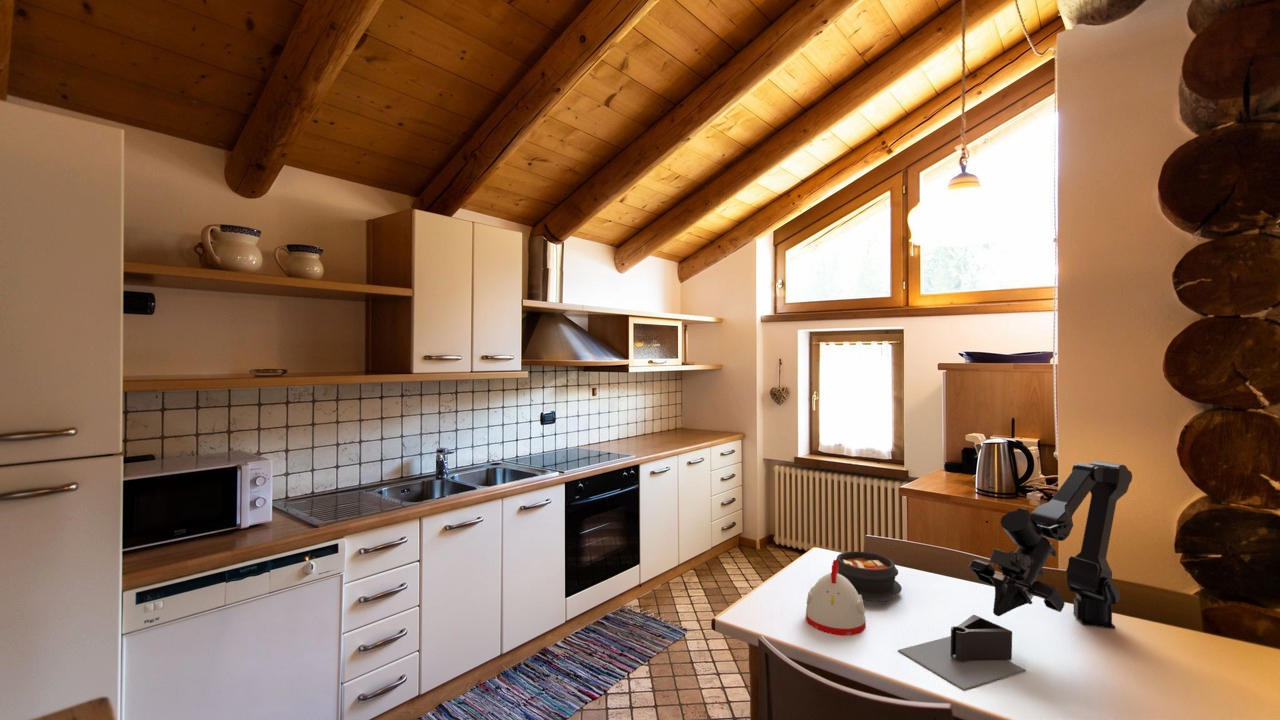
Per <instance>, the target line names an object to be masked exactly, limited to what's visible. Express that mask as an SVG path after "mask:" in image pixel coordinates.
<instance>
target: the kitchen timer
mask: <svg viewBox="0 0 1280 720" xmlns="http://www.w3.org/2000/svg"><path fill="white" fill-rule="evenodd" d="M838 573H839V565H838V563H837V560H836V559H833V561H832V564H831V572H830V573H827V574H825V575H823V576H821V577H820V578H819V579H818V581H816V583H815V584H814V585H813V586H812V587H811V588H810V589H809V591H808V593H807V598H806V607H805V621H806V622H807V624H808V625H809V626H811V627H812V628H814V629H816V630H817V631H820V632H823V633H825V634H830V635H835V636H854V635H858V634H861V633H862V632H864V631H865V629H866V622H867V621H866V615H865V611H866V609H865V606H864V601H863V599H862V596H861V595H858V593H857V591H856V589H855V588H854V586H853V585H852V584H851V583H850V582H849V581H848V580H847V579H846V578H845V577H844V576H842V575H840V574H838Z"/></svg>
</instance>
